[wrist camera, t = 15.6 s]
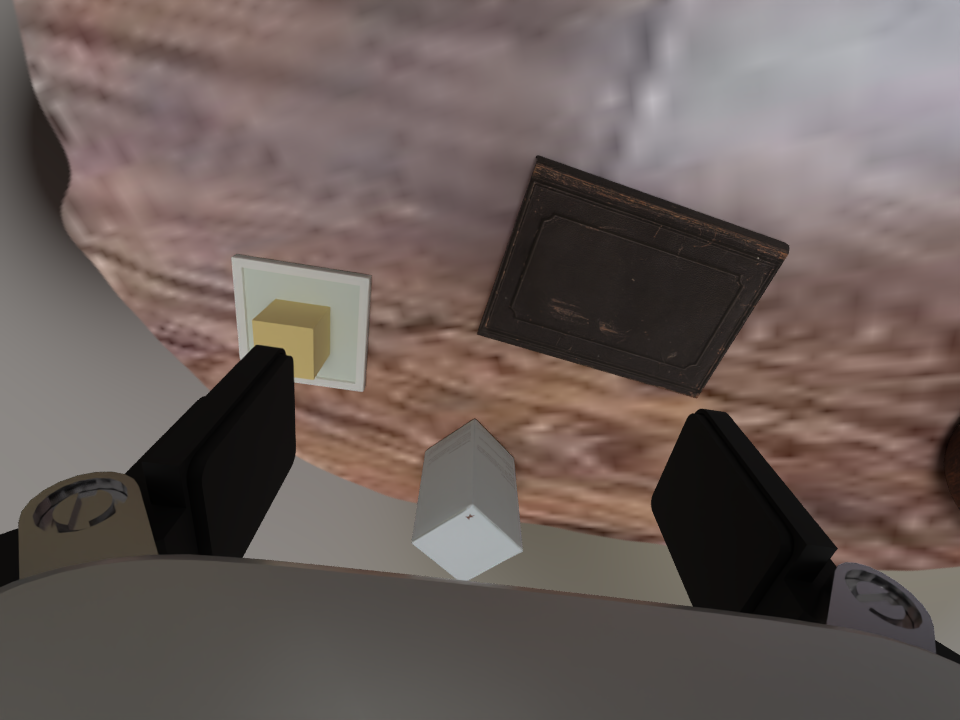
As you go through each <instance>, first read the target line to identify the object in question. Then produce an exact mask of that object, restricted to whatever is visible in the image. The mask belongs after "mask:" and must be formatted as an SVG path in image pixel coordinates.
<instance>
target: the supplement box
mask: <svg viewBox="0 0 960 720" xmlns="http://www.w3.org/2000/svg"><path fill="white" fill-rule="evenodd" d="M412 544H413V545H415V546H416V547H417V548H418V549H420V550H421V551H422V552H423V553H425V554H426V555H427V556H428V557H430V558H431V559H432V560H434V561H435V562H436V563H437V564H438V565H440V566H441V567H442V568H443V569H445V570H446V571H447V572H448V573H450V574H451V575H452V576H453V577H455V578H456V579H457V580H465V581H468V580H470V579H472V578H473V577H475V576H477V575H479V574H481V573H483V572H485V571H486V570H488V569H490V568H492V567H494V566H496V565H497V564H499V563H501V562H503V561H505V560H507V559H509V558H511V557H513V556H515V555H517V554H519V553H520V552H522V551H523V546H522V536H521V525H520V516H519V505H518V496H517V485H516V475H515V464H514V458H513V457H512V456H511V455H510V454H509V453H508V452H507V451H506V450H505V449H504V448H503V447H502V446H501V445H500V444H499V443H498V441H497V440H496V439H495V438H494V437H493V436H492V435H491V434H490V433H489V432H488V431H487V430H486V429H485V428H484V427H483V426H482V425H481V424H480V423H479V422H478V421H477V420H476V419H473V420H472V421H470V422H469V423H467V424H466V425H464V426H463V427H461V428H460V429H458V430H456V431H455V432H453V433H452V434H450V435H449V436H447V437H446V438H444V439H443V440H441V441H440V442H438V443H437V444H435V445H434V446H432V447H431V448H429V449H428V450H427V451H426V452H425V458H424V464H423V471H422V477H421V484H420V491H419V497H418V503H417V510H416V516H415V523H414V530H413V536H412Z"/></svg>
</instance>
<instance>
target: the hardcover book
mask: <svg viewBox="0 0 960 720" xmlns="http://www.w3.org/2000/svg"><path fill="white" fill-rule="evenodd" d="M536 158H537V162H536V165H535V168H534V171H533V174H532V177H531V180H530V183H529V185H528V188H527V191H526V194H525V197H524V200H523V203H522V206H521V209H520V211H519V214H518V217H517V220H516V223H515V226H514V229H513V232H512V234H511V237H510V240H509V243H508V246H507V249H506V252H505V255H504V257H503V260H502V263H501V266H500V269H499V272H498V275H497V278H496V280H495V283H494V286H493V289H492V292H491V295H490V298H489V301H488V304H487V306H486V309H485V312H484V315H483V318H482V321H481V324H480V327H479V329H478V332H477V335H481V336H484V337H488V338H491V339H494V340H498V341H501V342H505V343H508V344H512V345H515V346H519V347H522V348H525V349H529V350H532V351H536V352H539V353H543V354H546V355H549V356H553V357H556V358H560V359H563V360H567V361H570V362H573V363H577V364H580V365H584V366H587V367H591V368H594V369H597V370H601V371H604V372H608V373H611V374H615V375H618V376H621V377H625V378H628V379H632V380H635V381H639V382H642V383H645V384H649V385H652V386H656V387H659V388H663V389H666V390H669V391H673V392H676V393H680V394H683V395H687V396H690V397H693V398H698V396H699V394H700V393H701V391H702V390H703V388H704V386H705V385H706V383H707V382H708V380H709V379H710V377H711V375H712V374H713V372H714V371H715V369H716V367H717V366H718V364H719V363H720V361H721V360H722V358H723V356H724V355H725V353H726V352H727V350H728V349H729V347H730V345H731V344H732V342H733V341H734V339H735V337H736V336H737V334H738V333H739V331H740V330H741V328H742V326H743V325H744V323H745V322H746V320H747V318H748V317H749V315H750V314H751V312H752V311H753V309H754V307H755V306H756V304H757V303H758V301H759V300H760V298H761V296H762V295H763V293H764V292H765V290H766V288H767V287H768V285H769V284H770V282H771V281H772V279H773V277H774V276H775V274H776V273H777V271H778V269H779V268H780V266H781V265H782V263H783V262H784V260H785V258H786V257H787V255H788V254H789V245H788V244H786V243H784V242H782V241H779V240H776V239H773V238H770V237H767V236H765V235H762V234H759V233H756V232H753V231H751V230H748V229H745V228H742V227H739V226H736V225H734V224H731V223H728V222H725V221H722V220H719V219H717V218H714V217H711V216H708V215H705V214H703V213H700V212H697V211H694V210H691V209H688V208H686V207H683V206H680V205H677V204H674V203H671V202H669V201H666V200H663V199H660V198H657V197H655V196H652V195H649V194H646V193H643V192H640V191H638V190H635V189H632V188H629V187H626V186H623V185H621V184H618V183H615V182H612V181H609V180H606V179H604V178H601V177H598V176H595V175H592V174H590V173H587V172H584V171H581V170H578V169H575V168H573V167H570V166H567V165H564V164H561V163H558V162H556V161H553V160H550V159H547V158H544V157H542V156H539V155H538V156H536Z"/></svg>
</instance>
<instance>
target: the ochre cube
mask: <svg viewBox="0 0 960 720" xmlns="http://www.w3.org/2000/svg"><path fill="white" fill-rule="evenodd" d="M252 328H253V341H254V346H255V345H264V346H271V347H278V348H283V349H284V350H285V352H286V355H289V356H292V357H293V361H294V377H295V378H302V379H310V380H314V379H315V377H316V376H317V374H318V372H319V371H320V369H321V368H322V366H323V364H324V363H325V361H326V360H327V358H328V357H329V355H330V307H328V306H321V305H314V304H308V303H301V302H294V301H287V300H280V299H275V300H274V301H273V302H271V303H270V304H269V305H268V306H267V307H266V308H265V309H264V310H263V311H261V312H260V313H259V314H258V315H257V316H256V317H255V318H254V319H253V320H252Z"/></svg>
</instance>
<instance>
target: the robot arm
mask: <svg viewBox="0 0 960 720" xmlns="http://www.w3.org/2000/svg"><path fill="white" fill-rule="evenodd" d="M295 453H296V435H295V395H294V361H293V357H292V356H289V355H286V352H285V350H284V349H283V348H278V347H271V346H264V345H255V346H254V347H253V348H252V349H251V350H250V351H249V352H248V353H247V354H246V355H245V356H244V357H243V358H242V359H241V360H240V361H239V362H238V363H237V364H236V365H235V366H234V367H233V369H232V370H231V371H230V372H229V373H228V374H227V375H226V376H225V377H224V378H223V379H222V380H221V381H220V382H219V383H218V384H217V385H216V386H215V387H214V388H213V389H212V390H211V391H210V392H209V393H208V394H207V395H206V396H204V397H202V398H200V399H199V400H197V402H195V404H193V405H192V407H191V408H189V410H188V411H187V412H186V413H185V414H184V415H183V416H182V417H181V418H180V419H179V420H178V421H177V422H176V423H175V424H174V425H173V426H172V427H171V428H170V429H169V430H168V431H167V432H166V433H165V434H164V435H163V436H162V437H161V438H160V439H159V440H158V441H157V442H156V443H155V444H154V445H153V446H152V447H151V448H150V449H149V450H148V451H147V452H146V453H145V454H144V455H143V456H142V457H141V458H140V459H139V460H138V461H137V462H136V463H135V464H134V465H133V466H132V467H131V468H130V469H129V470H128V471H127V472H126V473H125V474H121V473H116V472H93V473H88V474H82V475H77V476H75V477H72V478H69V479H66V480H63V481H60V482H58V483H56V484H54V485H52V486H51V487H49V488H47V489H45V490H43V491H42V492H41V493H39V494H38V495H37V496H35V497H34V498H33V499H31V500H30V501H29V503H28V504H27V505H26V506H25V508H24V509H23V510H22V512H21V515H20V518H19V522H18V529H15V530H12V531H9V532H6V533H4V534H0V720H960V655H959V654H957V653H955V652H954V651H952V650H951V649H949V648H947V647H945V646H944V645H942V644H941V643H939V642H937V641H936V640H935V635H934V626H933V623H932V620H931V617H930V615H929V613H928V612H927V611H926V609H925V608H924V606H923V605H922V604H921V603H920V602H919V601H918V600H917V599H916V598H915V596H914V595H913V594H912V593H911V592H909V591H908V590H907V589H905V588H904V587H903V586H902V585H901V584H899V583H898V582H896V581H895V580H893V579H892V578H890V577H888V576H886V575H885V574H883V573H882V572H880V571H877V570H875V569H873V568H871V567H869V566H865V565H862V564H858V563H848V562H845V563H843V564H840V565H838V566H837V567H836V565H835V564H834V563H833V562H832V560H831V559H830V558H831V557H832V555H833V554H834V553H835V551H836V550H837V549H838V548H837V547H836V546H835V545H834V543H833V542H832V541H831V540H830V539H829V537H828V536H827V535H826V534H825V532H824V531H823V530H822V529H821V527H820V526H819V525H818V524H817V523H816V521H815V520H814V519H813V518H812V516H811V515H810V514H809V513H808V512H807V510H806V509H805V508H804V507H803V505H802V504H801V503H800V502H799V500H798V499H797V498H796V497H795V496H794V494H793V493H792V492H791V491H790V489H789V488H788V487H787V486H786V485H785V483H784V482H783V481H782V480H781V478H780V477H779V476H778V475H777V473H776V472H775V471H774V470H773V469H772V467H771V466H770V465H769V464H768V462H767V461H766V460H765V459H764V458H763V456H762V455H761V454H760V453H759V451H758V450H757V449H756V448H755V446H754V445H753V444H752V443H751V442H750V440H749V439H748V438H747V437H746V435H745V434H744V433H743V432H742V431H741V429H740V428H739V427H738V426H737V424H736V423H735V422H734V421H733V419H732V418H731V417H730V416H729V415H728V414H727V413H726V412H721V411H714V410H707V409H699V410H698V411H696V413H695V414H690V415H689V416H688V418H687V420H686V422H685V424H684V426H683V428H682V431H681V433H680V435H679V437H678V440H677V442H676V444H675V446H674V449H673V451H672V453H671V455H670V458H669V460H668V462H667V464H666V466H665V469H664V471H663V473H662V475H661V478H660V480H659V482H658V484H657V487H656V489H655V491H654V493H653V496H652V500H651V507H652V512H653V514H654V516H655V519H656V521H657V523H658V526H659V528H660V531H661V533H662V535H663V538H664V540H665V542H666V545H667V547H668V549H669V552H670V554H671V556H672V559H673V561H674V563H675V566H676V568H677V570H678V573H679V575H680V577H681V580H682V582H683V584H684V587H685V589H686V591H687V594H688V596H689V599H690V601H691V603H692V605H693V607H691V606H683V605H675V604H666V603H658V602H649V601H640V600H633V599H624V598H616V597H615V598H614V597H607V596H598V595H590V594H581V593H571V592H562V591H554V590H545V589H536V588H527V587H519V586H510V585H501V584H492V583H483V582H473V581H465V580H456V579H447V578H437V577H428V576H419V575H409V574H400V573H390V572H380V571H372V570H362V569H353V568H344V567H334V566H324V565H314V564H303V563H294V562H284V561H274V560H263V559H250V558H243V556H244V554H245V552H246V550H247V548H248V547H249V545H250V543H251V541H252V539H253V537H254V535H255V534H256V532H257V530H258V528H259V526H260V524H261V522H262V521H263V519H264V517H265V515H266V513H267V511H268V509H269V508H270V506H271V504H272V502H273V500H274V498H275V496H276V495H277V493H278V491H279V489H280V487H281V485H282V483H283V482H284V480H285V478H286V476H287V474H288V472H289V470H290V469H291V467H292V464H293V462H294V458H295Z"/></svg>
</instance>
